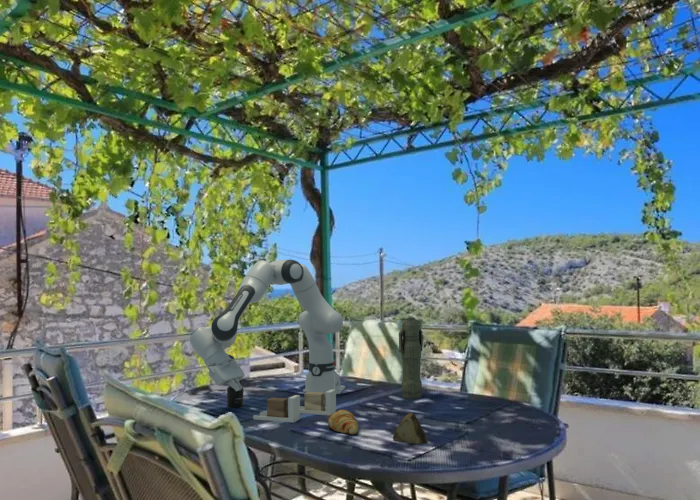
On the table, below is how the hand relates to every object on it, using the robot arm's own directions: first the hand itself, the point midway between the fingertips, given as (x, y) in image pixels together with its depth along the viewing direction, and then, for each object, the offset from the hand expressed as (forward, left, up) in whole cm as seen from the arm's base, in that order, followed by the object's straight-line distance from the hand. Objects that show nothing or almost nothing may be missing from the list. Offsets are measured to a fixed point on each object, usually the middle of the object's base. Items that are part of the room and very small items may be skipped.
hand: (239, 389), depth 227 cm
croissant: (+4, +45, -11) cm, 46 cm away
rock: (+12, +72, -11) cm, 73 cm away
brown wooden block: (+2, +17, -10) cm, 20 cm away
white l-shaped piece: (-12, +26, -11) cm, 31 cm away
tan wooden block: (-12, +27, -10) cm, 31 cm away
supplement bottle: (-13, -10, -11) cm, 20 cm away
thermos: (-56, +55, -11) cm, 79 cm away
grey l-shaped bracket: (+2, +17, -11) cm, 20 cm away
